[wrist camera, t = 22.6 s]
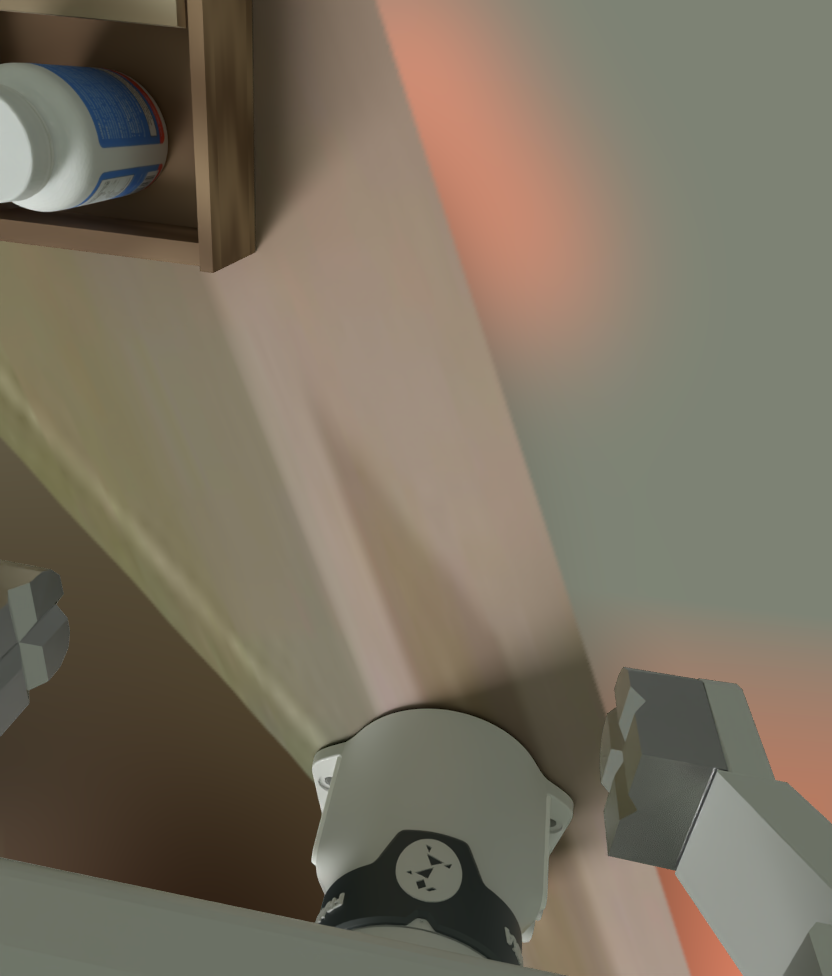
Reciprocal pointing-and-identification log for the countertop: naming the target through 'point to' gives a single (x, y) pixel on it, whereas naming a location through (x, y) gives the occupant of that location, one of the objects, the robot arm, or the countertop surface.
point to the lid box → (190, 128)
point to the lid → (106, 10)
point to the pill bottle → (76, 136)
